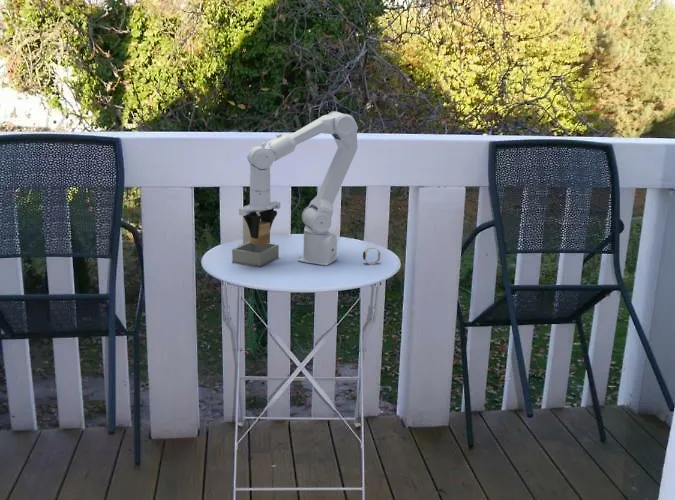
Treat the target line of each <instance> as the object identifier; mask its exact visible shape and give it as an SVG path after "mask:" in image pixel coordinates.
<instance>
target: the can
mask: <svg viewBox="0 0 675 500" xmlns="http://www.w3.org/2000/svg"><path fill="white" fill-rule="evenodd" d="M256 214H257V215H259V216H260V213H259V212H257V213H256ZM260 220H261V219H260ZM248 242H250V231H249V228H248V225H247V223H246V221H245V219H244V217H243V216H242V245H244V244H246V243H248Z"/></svg>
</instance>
